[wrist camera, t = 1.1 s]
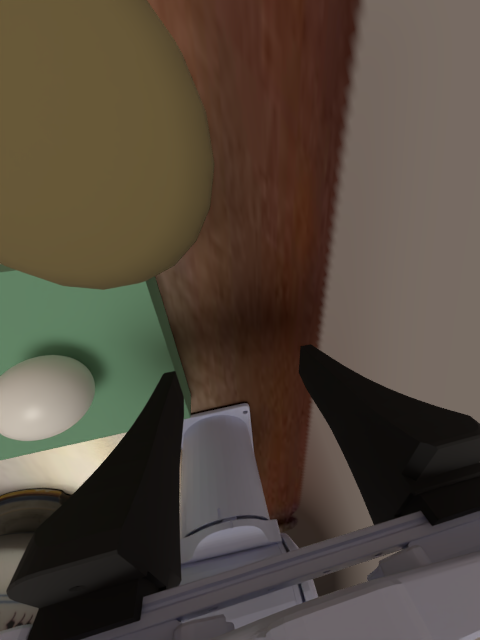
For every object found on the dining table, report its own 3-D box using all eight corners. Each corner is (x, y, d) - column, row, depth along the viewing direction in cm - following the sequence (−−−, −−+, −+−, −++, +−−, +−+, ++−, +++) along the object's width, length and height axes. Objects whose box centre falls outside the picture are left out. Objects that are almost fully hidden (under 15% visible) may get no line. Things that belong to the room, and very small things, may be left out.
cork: (155, 84, 10) (-287, -1235, 1) (228, 201, 13) (312, 202, 4) (69, 168, 11) (-621, -13, 2) (155, 261, 14) (77, 381, 5)
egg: (116, 385, 15) (90, 447, 12) (48, 398, 15) (-3, 468, 11) (88, 333, 13) (44, 389, 9) (7, 347, 13) (-75, 412, 9)
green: (190, 395, 21) (190, 417, 18) (-57, 447, 18) (-90, 480, 16) (145, 246, 14) (136, 254, 11) (-267, 298, 11) (-377, 321, 9)
